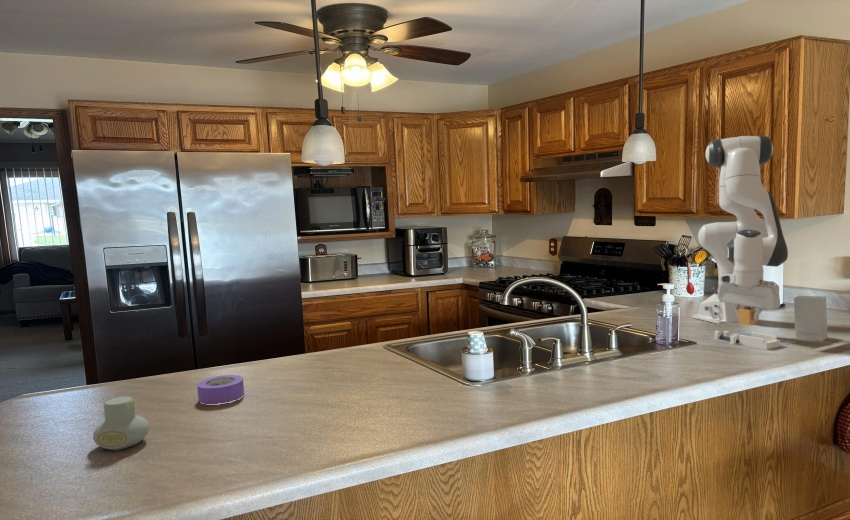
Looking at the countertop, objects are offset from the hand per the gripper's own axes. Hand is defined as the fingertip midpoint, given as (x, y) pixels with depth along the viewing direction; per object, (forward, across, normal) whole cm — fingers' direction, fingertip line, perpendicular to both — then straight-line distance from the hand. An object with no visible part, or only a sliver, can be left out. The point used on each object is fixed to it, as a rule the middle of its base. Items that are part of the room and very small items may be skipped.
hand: (747, 318), depth 198 cm
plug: (+2, 0, 0) cm, 2 cm away
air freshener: (+2, +19, +190) cm, 191 cm away
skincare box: (+8, -13, -14) cm, 20 cm away
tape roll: (+3, +40, +166) cm, 171 cm away
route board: (+7, -4, +4) cm, 9 cm away
